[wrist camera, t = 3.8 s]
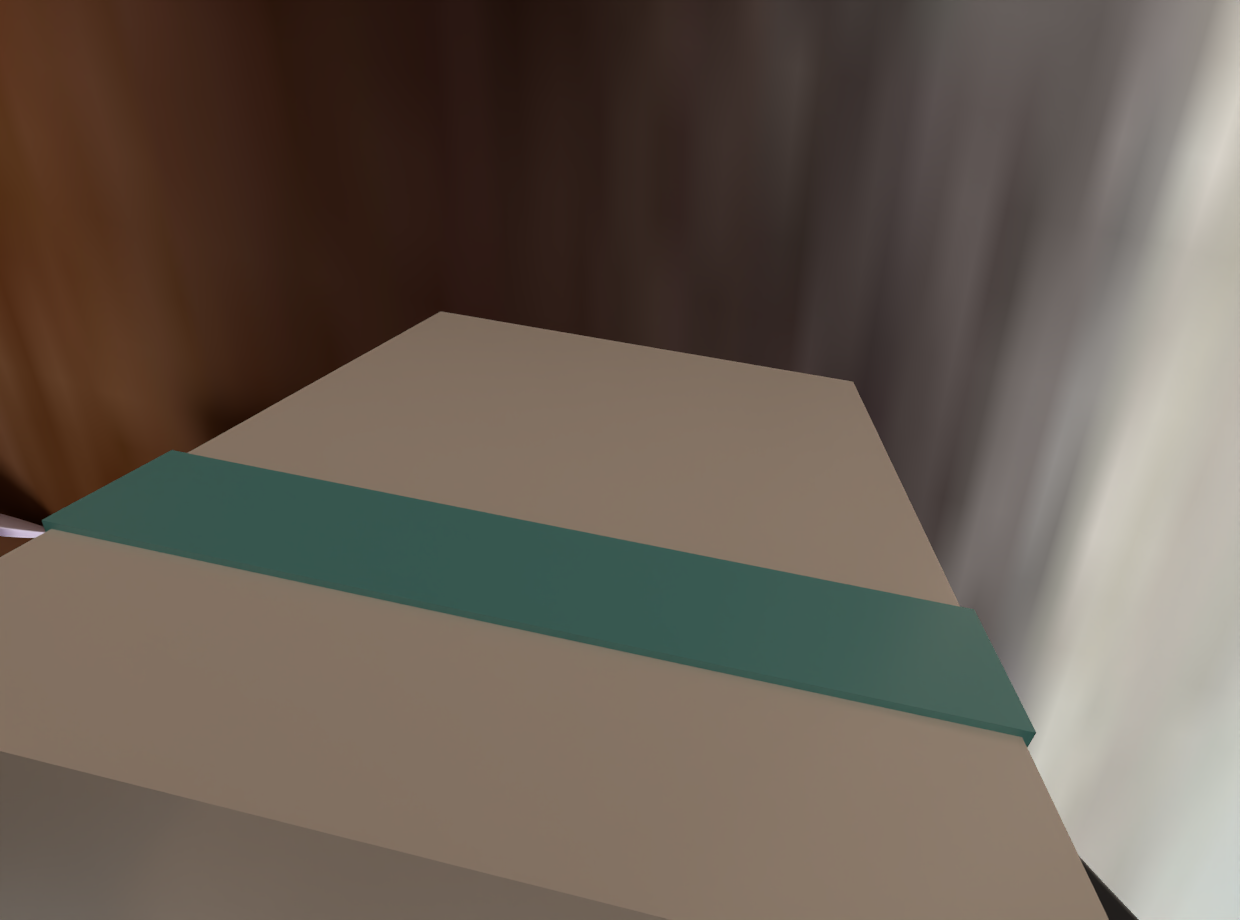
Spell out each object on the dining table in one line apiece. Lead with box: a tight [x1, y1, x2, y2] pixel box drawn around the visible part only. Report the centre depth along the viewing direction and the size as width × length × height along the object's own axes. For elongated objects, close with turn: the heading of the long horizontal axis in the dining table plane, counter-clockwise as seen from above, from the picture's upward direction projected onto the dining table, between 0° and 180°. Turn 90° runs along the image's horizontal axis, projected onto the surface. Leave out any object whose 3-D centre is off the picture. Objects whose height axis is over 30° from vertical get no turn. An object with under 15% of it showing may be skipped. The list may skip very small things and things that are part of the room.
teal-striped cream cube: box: [0, 312, 1109, 920], centre depth 7 cm, size 6×6×7 cm
